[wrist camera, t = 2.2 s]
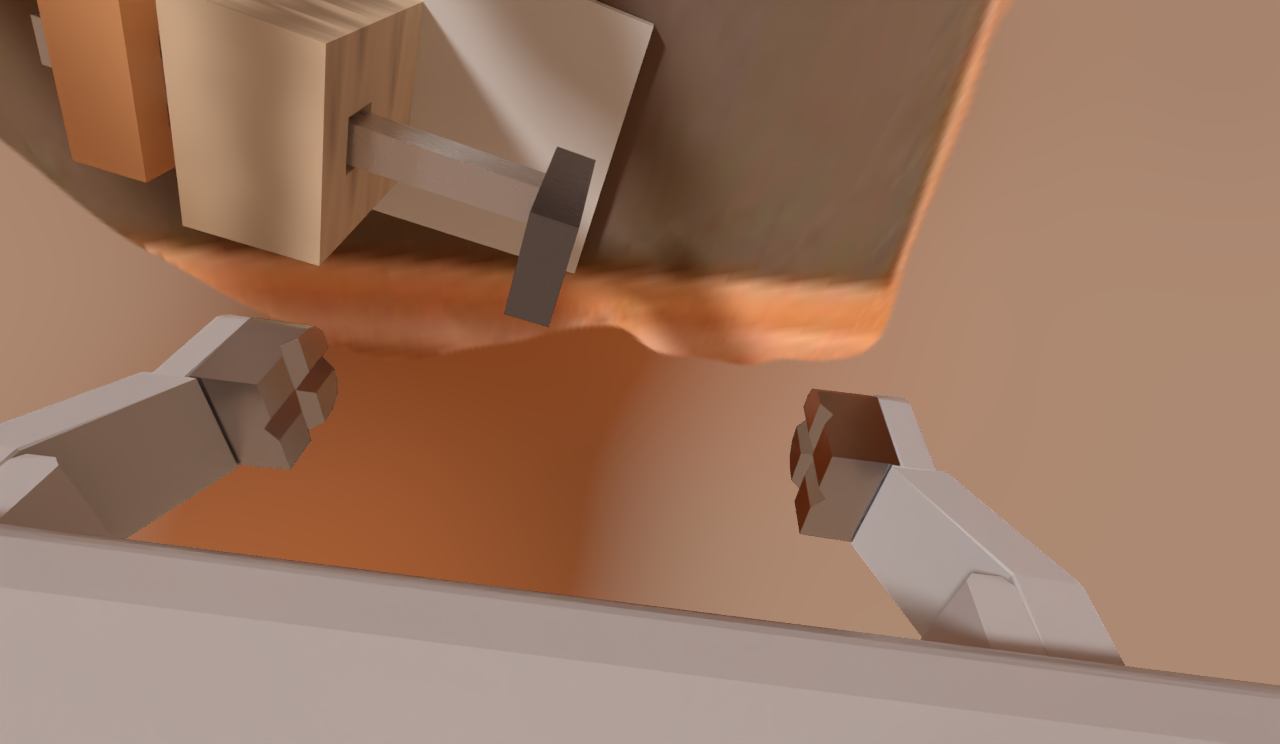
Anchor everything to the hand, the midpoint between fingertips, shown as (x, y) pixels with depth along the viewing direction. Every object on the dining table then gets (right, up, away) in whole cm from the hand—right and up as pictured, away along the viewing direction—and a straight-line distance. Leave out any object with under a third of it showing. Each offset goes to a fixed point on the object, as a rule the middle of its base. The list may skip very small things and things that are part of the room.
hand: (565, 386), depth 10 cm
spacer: (-21, +17, +21) cm, 34 cm away
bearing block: (-15, +17, +25) cm, 33 cm away
